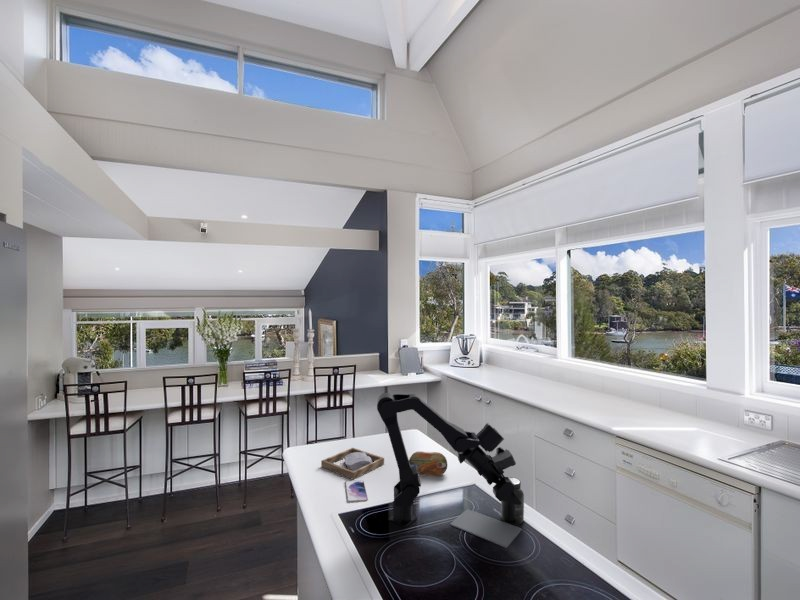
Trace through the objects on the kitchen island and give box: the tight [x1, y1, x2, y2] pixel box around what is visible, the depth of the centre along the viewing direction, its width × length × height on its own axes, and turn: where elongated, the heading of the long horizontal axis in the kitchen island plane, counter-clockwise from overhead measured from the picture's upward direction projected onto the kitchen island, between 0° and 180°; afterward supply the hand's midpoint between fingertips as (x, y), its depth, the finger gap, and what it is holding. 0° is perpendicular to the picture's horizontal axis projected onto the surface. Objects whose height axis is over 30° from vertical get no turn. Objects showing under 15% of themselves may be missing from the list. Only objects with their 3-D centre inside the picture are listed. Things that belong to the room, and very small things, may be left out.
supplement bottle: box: [500, 477, 525, 526], centre depth 125 cm, size 7×7×12 cm
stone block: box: [344, 451, 373, 471], centre depth 165 cm, size 12×5×10 cm
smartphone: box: [344, 479, 369, 504], centre depth 143 cm, size 7×1×15 cm
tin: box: [408, 451, 448, 477], centre depth 157 cm, size 15×3×8 cm, turn 82°
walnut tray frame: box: [320, 447, 385, 481], centre depth 164 cm, size 18×18×2 cm
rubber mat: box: [449, 508, 522, 549], centre depth 121 cm, size 11×18×1 cm, turn 52°
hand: (515, 496), depth 126 cm, fingers open, 9 cm apart
